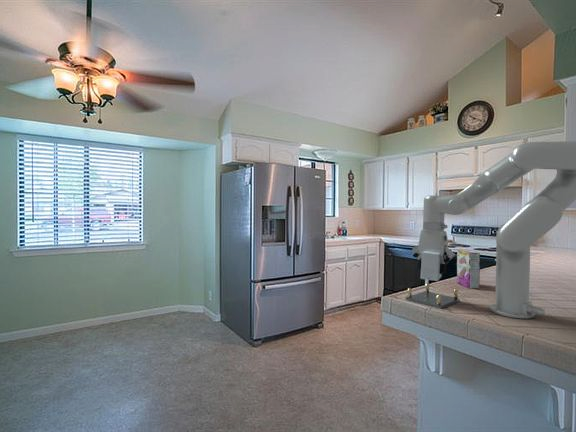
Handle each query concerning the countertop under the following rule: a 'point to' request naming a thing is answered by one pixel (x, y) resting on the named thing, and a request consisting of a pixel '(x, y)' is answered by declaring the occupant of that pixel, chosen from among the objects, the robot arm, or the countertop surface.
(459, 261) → the candy bar box
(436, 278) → the skincare box
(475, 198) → the robot arm
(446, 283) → the countertop surface
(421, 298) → the chassis
